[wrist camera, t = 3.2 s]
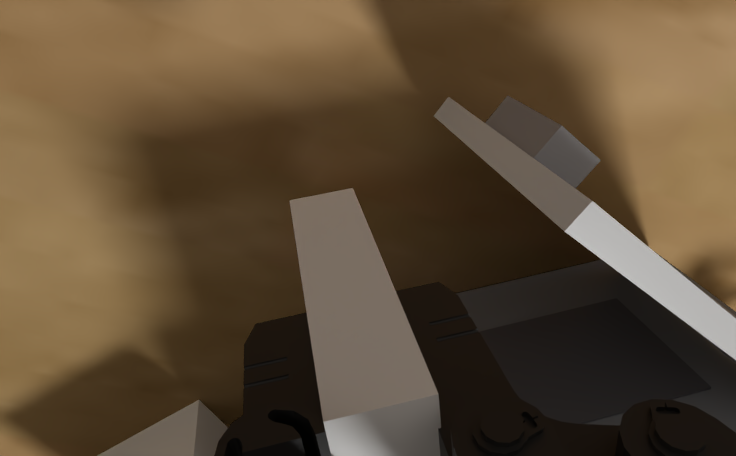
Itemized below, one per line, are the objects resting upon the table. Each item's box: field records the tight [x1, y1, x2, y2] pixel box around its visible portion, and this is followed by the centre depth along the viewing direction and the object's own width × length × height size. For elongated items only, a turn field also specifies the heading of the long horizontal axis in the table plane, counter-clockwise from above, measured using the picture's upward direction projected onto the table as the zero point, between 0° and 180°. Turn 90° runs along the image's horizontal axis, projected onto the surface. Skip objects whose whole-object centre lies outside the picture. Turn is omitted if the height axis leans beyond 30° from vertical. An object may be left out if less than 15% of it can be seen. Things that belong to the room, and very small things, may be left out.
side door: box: [434, 96, 736, 364], centre depth 17 cm, size 12×2×8 cm, turn 52°
